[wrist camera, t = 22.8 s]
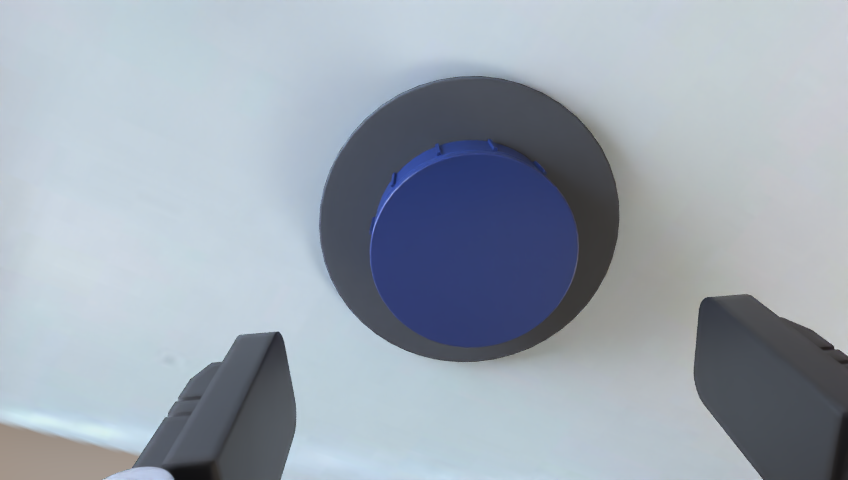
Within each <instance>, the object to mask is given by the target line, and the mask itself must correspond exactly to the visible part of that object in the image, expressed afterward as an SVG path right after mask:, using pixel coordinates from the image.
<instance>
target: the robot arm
mask: <svg viewBox="0 0 848 480" xmlns="http://www.w3.org/2000/svg"><path fill="white" fill-rule="evenodd" d="M694 380H695V385H696V389H697V392H698V395H699V397H700V399H701V401H702V402H703V404H704V405H705V406H706V408H707V409H708V410H709V411H710V413H711V414H712V415H713V417H714V418H715V419H716V420H717V422H718V423H719V424H720V425H721V427H722V428H723V429H724V430H725V432H726V433H727V434H728V435H729V437H730V438H731V439H732V441H733V442H734V443H735V444H736V446H737V447H738V448H739V449H740V451H741V452H742V453H743V454H744V456H745V457H746V458H747V460H748V461H749V462H750V463H751V465H752V466H753V467H754V468H755V470H756V471H757V472H758V473H759V475H760V476H761V477H762V479H763V480H848V356H847V355H845V354H844V353H842V352H841V351H840V350H835V349H834V346H833V345H832V344H830V343H829V342H828V341H826V340H825V339H823V338H822V337H821V336H819V335H818V334H817V333H815V332H814V331H813V330H811V329H808V328H806V327H804V326H801V325H799V324H796V323H794V322H792V321H789V320H787V319H785V318H782V317H779V316H777V315H776V314H775V313H774V312H772V311H771V310H770V309H768V308H767V307H766V306H764V305H763V304H762V303H760V302H759V301H758V300H756V299H755V298H754V297H752V296H751V295H748V294H742V295H730V296H718V297H707V298H705V299H703V301H702V302H701V304H700V308H699V316H698V327H697V338H696V350H695V361H694ZM295 427H296V403H295V397H294V392H293V387H292V381H291V376H290V371H289V365H288V360H287V355H286V350H285V344H284V340H283V337H282V335H281V334H280V333H279V332H269V333H256V334H244V335H239V336H238V337H237V338H236V340H235V342H234V343H233V345H232V347H231V348H230V350H229V352H228V353H227V355H226V357H225V358H224V360H223V362H216V363H211V364H210V365H208V366H207V367H206V368H204V369H203V370H202V371H201V372H199V373H198V374H197V375H195V376H194V377H193V378H192V379H190V381H189V382H188V384H187V385H186V387H185V388H184V390H183V391H182V393H181V394H180V396H179V397H178V402H175V403H174V405H173V406H172V408H171V409H170V411H169V412H168V417H165V419H164V420H163V422H162V423H161V425H160V426H159V428H158V429H157V431H156V432H155V434H154V435H153V437H152V438H151V440H150V441H149V443H148V444H147V446H146V447H145V449H144V450H143V452H142V453H141V455H140V456H139V458H138V460H137V461H136V463H135V464H134V466H133V467H132V469H127V470H124V471H121V472H118V473H115V474H113V475H111V476H108V477H106V478H104V479H102V480H281V476H282V473H283V470H284V467H285V463H286V460H287V457H288V453H289V450H290V447H291V444H292V440H293V437H294V433H295Z"/></svg>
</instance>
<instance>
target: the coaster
mask: <svg viewBox="0 0 848 480" xmlns="http://www.w3.org/2000/svg"><path fill="white" fill-rule="evenodd" d="M488 139H492V141H493V142H494V143H497V144H501V145H504V146H506V147H509V148H511V149H514V150H515V151H517V152H519V153H521V154H522V155H524V156H525V157H527V158H528V159H529V160H531V161H532V162H534V161H537V162H538V163H539V164H540V166H541V167H542V168H543V169H544V170H545V171H546V172H547V174H546V176H547V177H548V178H549V179H550V180H551V182H552V183H553V184H554V185H555V186H556V187H557V188H558V190H559V191H560V192H561V194H562V195H563V196H564V198H565V199H566V201H567V203H568V205H569V207H570V209H571V211H572V213H573V215H574V219H575V222H576V226H577V231H578V240H579V253H578V262H577V267H576V271H575V275H574V277H573V280H572V283H571V285H570V287H569V289H568V291H567V293H566V295H565V297H564V298H563V299H562V301H561V302H560V304H559V305H558V307H557V308H556V309H555V310H554V311H553V312H552V313H551V314H550V315H549V317H547V318H546V319H545V320H544V321H543V322H542V323H540V324H539V325H538V326H536V327H535V328H533V329H532V330H530V331H529V332H527V333H525V334H523V335H521V336H520V337H518V338H515V339H513V340H510V341H507V342H505V343H501V344H497V345H493V346H486V347H476V348H465V347H454V346H449V345H445V344H441V343H438V342H435V341H432V340H429V339H427V338H425V337H423V336H421V335H419V334H417V333H415V332H414V331H412V330H411V329H409V328H408V327H407V326H405V325H404V324H403V323H402V322H401V321H399V320H398V319H397V318H396V317H395V315H394V314H393V313H392V312H391V311H390V310H389V309H388V307H387V306H386V304H385V303H384V301H383V300H382V298H381V296H380V294H379V292H378V290H377V288H376V285H375V282H374V279H373V276H372V271H371V265H370V243H371V236H372V235H369V231H370V227H371V222H372V218H373V217H376V213H377V209H378V206H379V203H380V200H381V198H382V195H383V193H384V192H385V190H386V188H387V186H388V184H389V183H390V182H391V180H392V175H393V173H394V172H395V173H396V174H397V173H398V172H399V171H400V170H401V169H402V168H403V167H404V166H405V165H406V164H407V163H409V162H410V161H411V160H412V159H414V158H415V157H417V156H418V155H420V154H422V153H423V152H425V151H427V150H429V149H432V148H434V147H435V144H437V143H439V145H443V144H446V143H450V142H456V141H462V140H480V141H488ZM618 227H619V200H618V194H617V189H616V183H615V180H614V177H613V174H612V171H611V167H610V164H609V162H608V160H607V158H606V156H605V154H604V152H603V150H602V148H601V147H600V145H599V144H598V142H597V141H596V139H595V138H594V136H593V135H592V133H591V132H590V131H589V130H588V129H587V127H586V126H585V125H584V124H583V123H582V122H581V121H580V120H579V119H578V118H577V117H576V116H575V115H574V114H573V113H571V112H570V111H569V110H568V109H566V108H565V107H564V106H563V105H562V104H560V103H558V102H557V101H555V100H553V99H552V98H550V97H548V96H547V95H545V94H543V93H541V92H539V91H537V90H534V89H532V88H530V87H527V86H525V85H522V84H519V83H516V82H512V81H508V80H504V79H499V78H491V77H482V76H469V77H454V78H448V79H441V80H437V81H433V82H430V83H426V84H423V85H420V86H417V87H415V88H413V89H410V90H408V91H406V92H404V93H401V94H399V95H398V96H396V97H394V98H393V99H391V100H390V101H388V102H386V103H385V104H383V105H382V106H380V107H379V108H378V109H377V110H376V111H374V112H373V113H372V114H371V115H370V116H368V117H367V118H366V119H365V120H364V121H363V122H362V123H361V124H360V126H359V127H358V128H357V129H356V130H355V131H354V132H353V133H352V134H351V136H350V137H349V139H348V140H347V142H346V143H345V145H344V146H343V147H342V149H341V150H340V152H339V154H338V156H337V158H336V160H335V162H334V164H333V166H332V168H331V170H330V172H329V175H328V178H327V181H326V184H325V187H324V191H323V196H322V201H321V206H320V220H319V229H320V241H321V248H322V252H323V257H324V261H325V264H326V267H327V270H328V272H329V275H330V278H331V280H332V282H333V284H334V285H335V287H336V289H337V291H338V293H339V295H340V296H341V298H342V299H343V300H344V302H345V303H346V305H347V306H348V307H349V309H350V310H351V311H352V312H353V313H354V314H355V315H356V316H357V317H358V318H359V320H360V321H361V322H362V323H364V324H365V325H366V326H367V327H368V328H370V329H371V330H372V331H373V332H374V333H376V334H377V335H379V336H380V337H382V338H383V339H385V340H387V341H388V342H390V343H391V344H393V345H396V346H398V347H400V348H402V349H404V350H406V351H409V352H412V353H415V354H418V355H421V356H424V357H428V358H433V359H438V360H444V361H455V362H477V361H484V360H492V359H497V358H501V357H505V356H509V355H513V354H515V353H518V352H521V351H523V350H526V349H529V348H531V347H533V346H535V345H537V344H539V343H541V342H543V341H544V340H546V339H548V338H549V337H551V336H552V335H554V334H555V333H557V332H558V331H560V330H561V329H562V328H563V327H564V326H566V325H567V324H568V323H569V322H570V321H572V320H573V319H574V318H575V317H576V316H577V315H578V314H579V313H580V311H581V310H582V309H583V308H584V307H585V306H586V305H587V304H588V302H589V301H590V299H591V298H592V297H593V295H594V294H595V293H596V291H597V290H598V288H599V286H600V284H601V282H602V281H603V279H604V277H605V275H606V273H607V270H608V268H609V265H610V263H611V260H612V258H613V254H614V250H615V246H616V242H617V237H618Z"/></svg>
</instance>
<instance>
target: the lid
mask: <svg viewBox="0 0 848 480" xmlns="http://www.w3.org/2000/svg"><path fill="white" fill-rule="evenodd" d="M546 174H547V172H546V171H545V170H544V169H543V168H542V167H541V166H540V164H539V163H538V162H537V161H534V162H532V161H531V160H529V159H528V158H527V157H525V156H524V155H522V154H521V153H519V152H517V151H515V150H514V149H511V148H509V147H506V146H504V145H501V144H497V143H494V142H493V141H492V139H488V141H480V140H462V141H456V142H450V143H446V144H443V145H439V143H437V144H435V147H434V148H432V149H429V150H427V151H425V152H423V153H422V154H420V155H418V156H417V157H415V158H414V159H412V160H411V161H410V162H409V163H407V164H406V165H405V166H404V167H403V168H402V169H401V170H400V171H399V172H398V173H397V174H396V173H395V172H394V173H393V175H392V180H391V182H390V183H389V184H388V186H387V188H386V190H385V192H384V193H383V195H382V198H381V200H380V203H379V206H378V209H377V213H376V217H373V218H372V222H371V227H370V231H369V235H372V236H371V243H370V265H371V271H372V276H373V279H374V282H375V285H376V288H377V290H378V292H379V294H380V296H381V298H382V300H383V301H384V303H385V304H386V306H387V307H388V309H389V310H390V311H391V312H392V313H393V314H394V315H395V317H396V318H397V319H398V320H399V321H401V322H402V323H403V324H404V325H405V326H407V327H408V328H409V329H411V330H412V331H414V332H415V333H417V334H419V335H421V336H423V337H425V338H427V339H429V340H432V341H435V342H438V343H441V344H445V345H449V346H454V347H465V348H476V347H486V346H493V345H497V344H501V343H505V342H507V341H510V340H513V339H515V338H518V337H520V336H521V335H523V334H525V333H527V332H529V331H530V330H532V329H533V328H535V327H536V326H538V325H539V324H540V323H542V322H543V321H544V320H545V319H546V318H547V317H549V315H550V314H551V313H552V312H553V311H554V310H555V309H556V308H557V307H558V305H559V304H560V302H561V301H562V299H563V298H564V297H565V295H566V293H567V291H568V289H569V287H570V285H571V283H572V280H573V277H574V275H575V271H576V267H577V262H578V253H579V240H578V231H577V226H576V222H575V219H574V215H573V213H572V211H571V209H570V207H569V205H568V203H567V201H566V199H565V198H564V196H563V195H562V194H561V192H560V191H559V190H558V188H557V187H556V186H555V185H554V184H553V183H552V182H551V180H550V179H549V178H548V177H547V176H546Z"/></svg>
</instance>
